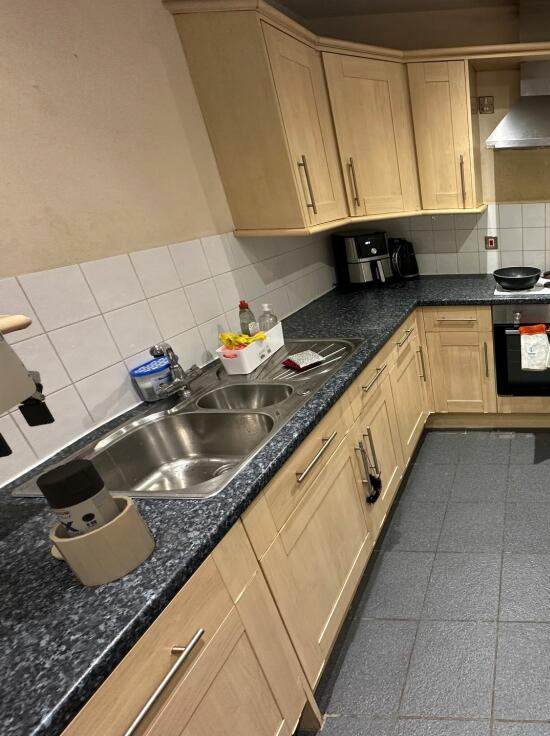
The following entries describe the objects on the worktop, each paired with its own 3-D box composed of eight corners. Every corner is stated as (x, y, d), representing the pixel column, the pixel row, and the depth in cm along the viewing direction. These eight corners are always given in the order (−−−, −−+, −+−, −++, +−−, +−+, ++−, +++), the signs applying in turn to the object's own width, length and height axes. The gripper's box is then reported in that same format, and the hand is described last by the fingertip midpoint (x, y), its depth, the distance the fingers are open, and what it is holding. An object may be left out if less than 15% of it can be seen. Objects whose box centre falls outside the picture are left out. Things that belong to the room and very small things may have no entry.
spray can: (84, 569, 72) (24, 480, 65) (128, 539, 78) (77, 455, 70) (106, 579, 70) (47, 488, 62) (149, 548, 76) (100, 461, 68)
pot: (66, 595, 68) (33, 550, 64) (100, 547, 77) (73, 505, 73) (140, 573, 71) (113, 529, 67) (164, 530, 80) (142, 489, 76)
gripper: (-24, 326, 65) (30, 418, 71) (-140, 367, 50) (-58, 479, 56) (36, 319, 67) (83, 409, 74) (-57, 357, 52) (12, 465, 58)
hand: (22, 439), depth 65 cm, fingers open, 9 cm apart
